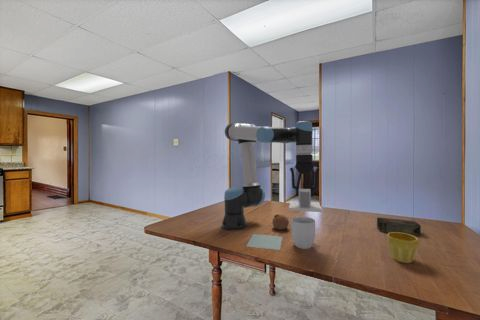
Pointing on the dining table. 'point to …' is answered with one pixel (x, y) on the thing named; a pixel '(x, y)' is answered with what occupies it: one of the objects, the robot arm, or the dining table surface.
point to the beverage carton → (398, 226)
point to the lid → (304, 203)
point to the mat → (265, 241)
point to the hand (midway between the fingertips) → (304, 203)
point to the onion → (280, 222)
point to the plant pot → (402, 246)
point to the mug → (303, 231)
